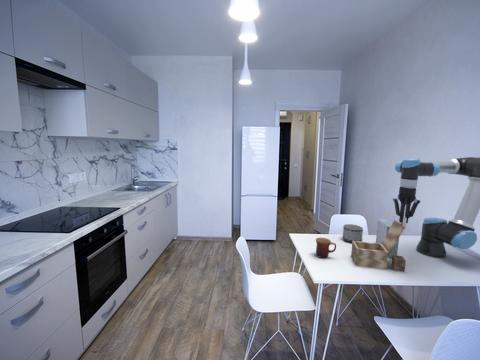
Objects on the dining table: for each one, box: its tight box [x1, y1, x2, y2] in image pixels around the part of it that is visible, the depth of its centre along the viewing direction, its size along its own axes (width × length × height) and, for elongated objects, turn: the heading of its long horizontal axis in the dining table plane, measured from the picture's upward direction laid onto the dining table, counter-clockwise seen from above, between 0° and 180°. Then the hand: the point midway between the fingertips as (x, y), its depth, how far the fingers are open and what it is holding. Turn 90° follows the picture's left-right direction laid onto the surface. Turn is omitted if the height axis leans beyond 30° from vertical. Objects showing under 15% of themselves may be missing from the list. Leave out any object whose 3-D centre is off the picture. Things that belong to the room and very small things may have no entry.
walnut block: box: [390, 254, 407, 273], centre depth 132 cm, size 5×5×7 cm
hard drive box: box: [375, 218, 400, 259], centre depth 152 cm, size 16×8×20 cm, turn 168°
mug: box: [315, 237, 337, 259], centre depth 145 cm, size 12×9×10 cm
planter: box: [342, 223, 364, 244], centre depth 171 cm, size 13×13×10 cm
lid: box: [382, 219, 406, 252], centre depth 134 cm, size 16×12×1 cm
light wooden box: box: [350, 241, 389, 270], centre depth 138 cm, size 16×12×10 cm
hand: (402, 228), depth 132 cm, fingers closed
